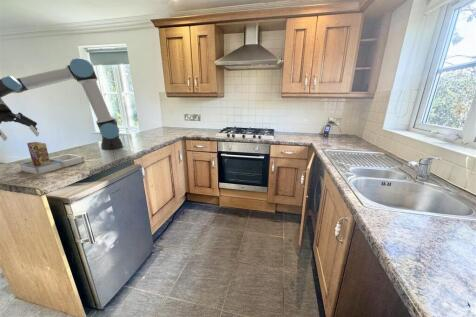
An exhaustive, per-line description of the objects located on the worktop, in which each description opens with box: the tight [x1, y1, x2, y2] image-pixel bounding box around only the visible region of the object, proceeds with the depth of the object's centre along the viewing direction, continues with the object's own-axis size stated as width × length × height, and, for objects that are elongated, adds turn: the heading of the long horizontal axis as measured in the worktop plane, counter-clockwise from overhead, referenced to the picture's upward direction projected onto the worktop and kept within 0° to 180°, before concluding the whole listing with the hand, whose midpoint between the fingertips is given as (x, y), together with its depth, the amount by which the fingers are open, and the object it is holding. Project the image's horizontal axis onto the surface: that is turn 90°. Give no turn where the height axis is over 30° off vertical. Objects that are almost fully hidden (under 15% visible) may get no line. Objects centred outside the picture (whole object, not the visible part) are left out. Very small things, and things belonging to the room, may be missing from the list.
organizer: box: [19, 153, 85, 175], centre depth 116 cm, size 24×14×4 cm, turn 161°
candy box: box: [26, 141, 50, 166], centre depth 109 cm, size 9×4×15 cm, turn 71°
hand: (22, 136), depth 109 cm, fingers open, 13 cm apart
